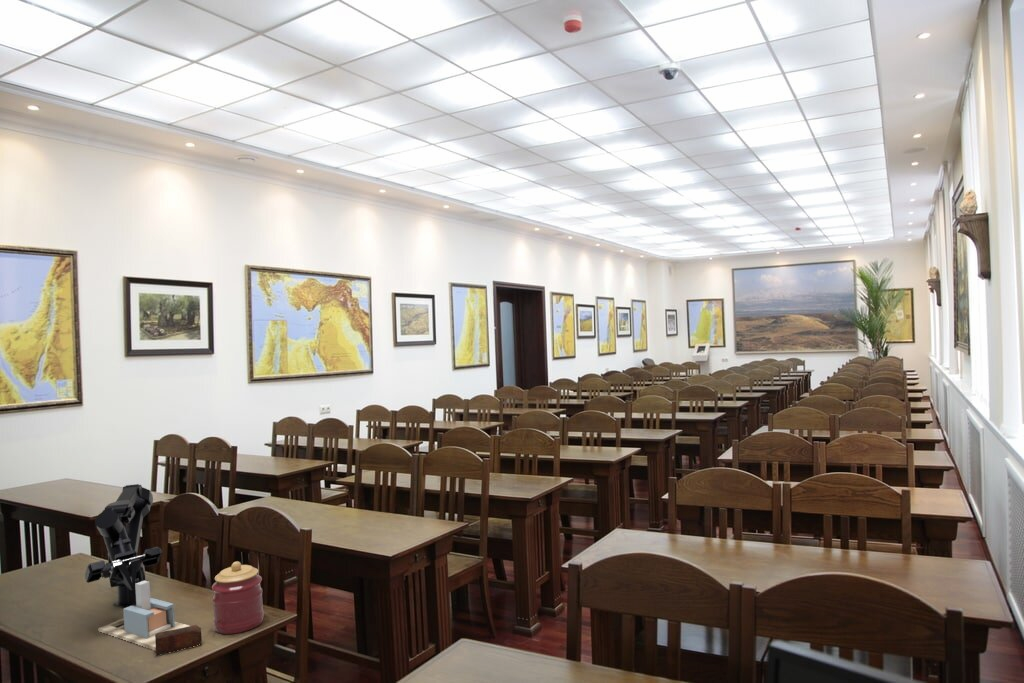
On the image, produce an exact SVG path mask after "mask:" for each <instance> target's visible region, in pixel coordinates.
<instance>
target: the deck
mask: <svg viewBox="0 0 1024 683" xmlns="http://www.w3.org/2000/svg"><path fill="white" fill-rule="evenodd" d="M189 626H190V625H189V624H184V623H181V622H177V621H175V627H170V628H168V629H165V630H163V631H161V632H164V631H169V630H175V629H179V628H184V627H189ZM97 631H99V632H98V633H100V632H102V633H101V634H103V633H105V634H104V635H106V634H108V635H107V636H109V635H111V636H110V637H112V636H114V637H113V638H115V637H118V638H120V639H119V640H121V639H123V640H122V641H124V640H126V641H125V642H127V641H129V642H128V643H130V642H132V643H131V644H133V643H135V644H134V645H136V644H138V645H137V646H139V645H141V646H140V647H142V646H143V647H142V648H145V647H146V649H148V648H149V649H148V650H151V649H152V651H154V650H156V642H155V634H154V635H151V636H149V638H147V639H146V638H143V637H140V636H137V635H134V634H131V633H128V632H125V630H124V617H123V618H121V619H118V620H116V621H113V622H111V623H107V624H106V625H103V626H99V628H97ZM158 633H160V632H158ZM156 634H157V633H156ZM118 638H117V639H118Z"/></svg>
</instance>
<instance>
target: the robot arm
mask: <svg viewBox="0 0 1024 683" xmlns="http://www.w3.org/2000/svg"><path fill="white" fill-rule="evenodd" d="M153 495H154V494H153V493H152V491H151V490H150V489H147V488H146V487H143V486H142V484H139V483H136V484H128V485H127V484H126V485H124V486H123V487H122V492H121V493H120V495H119V496H118V498H116V501H113V502H111V503H108V504H107V505H106V506H105V507H104V509H103V510H102V512H100V513H99V514H98V515H97V516H96V517H95V519H94V525H95V527H96V528H97V530H98V532H99V534H100V535H101V536H102V537H103V540H104V544H105V546H106V550H107V558H108V560H107V562H105V560H99V561H96V562H91V563H89V564H88V565H87V567H86V570H85V572H84V579H85V582H86V583H88V584H89V583H92V582H95V581H99V580H100V579H101V578H104V579H108V578H109V584H110V588H115V587H116V588H117V601H114V602H113V603H112V605H113V606H117V607H120V608H123V609H124V608H127V607H129V606H134V605H136V588H135V584H136V583H138V582H141V581H147V578H146V572H145V569H144V567H146V568H148V567H152V566H155V565H158V564H159V563H160V561H161V558H162V555H163V551H162V548H161V547H159V546H154V547H151V548H150V547H149V548H146V549H145V550H144V552H143V554H142V555H138V551H139V543H140V537H141V533H142V528H143V527H142V526H143V520H144V518H145V516H147V515H148V514H149V513H150V511H151V506H153V503H154V497H153ZM124 524H125V525H124ZM143 566H144V567H143ZM133 604H134V605H133Z"/></svg>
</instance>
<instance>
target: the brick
mask: <svg viewBox="0 0 1024 683" xmlns="http://www.w3.org/2000/svg"><path fill="white" fill-rule="evenodd" d="M202 638H203V636H202V628H201V627H200V626H198V625H197V624H194V625H189V627H184V628H179V629H175V630H169V631H164V632H160V633H157V634H155V642H156V651H155V655H156V656H161V655H160V654H162V655H166V654H170V653H169V652H171V653H174V652H173V651H175V652H178V651H177V650H179V651H182V650H181V649H184V648H188V649H190V648H189V647H192V648H194V647H193V646H196V647H198V646H197V645H199V644H200V645H201V642H202V641H203V639H202ZM200 645H199V646H200ZM184 650H185V649H184ZM165 653H166V654H165Z"/></svg>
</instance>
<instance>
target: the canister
mask: <svg viewBox="0 0 1024 683" xmlns="http://www.w3.org/2000/svg"><path fill="white" fill-rule="evenodd" d="M258 573H259V569H258V568H256V567H254V566H252V565H249V564H242V563H241V561H234V562H233V563H232V564H231V566H228V567H227V568H224V569H222V570H221V571H219V573H217V575H215V577H214V580H215V582H214V583H213V584H212V586H211V589H212V591H213V592H214V593H213V597H212V604H213V626H214V627H213V628H214V631H215V632H217V633H219V634H222V633H223V634H225V635H228V634H229V635H232V634H239V633H242V632H243V633H244V632H247V631H250V630H253V629H254V628H257V627H258V626H259V625H261V623H263V621H264V616H265V614H264V613H265V612H264V608H263V588H262V587H261V582H262V580H263V578H262V576H261V575H259V574H258Z"/></svg>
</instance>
